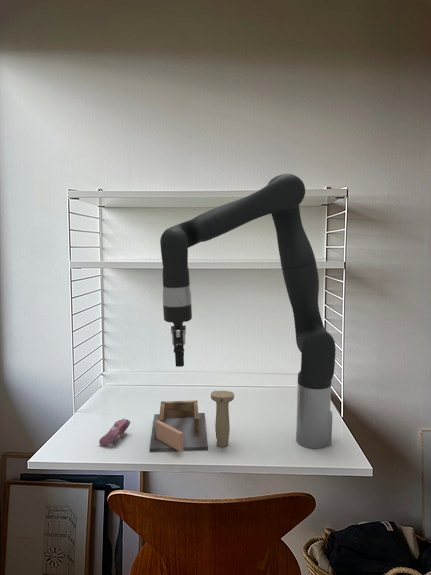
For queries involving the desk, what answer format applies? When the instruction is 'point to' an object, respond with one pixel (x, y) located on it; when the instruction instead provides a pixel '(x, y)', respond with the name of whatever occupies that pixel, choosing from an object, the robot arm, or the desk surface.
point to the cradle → (182, 425)
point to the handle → (222, 415)
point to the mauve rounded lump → (115, 432)
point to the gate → (168, 435)
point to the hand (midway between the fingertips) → (180, 361)
